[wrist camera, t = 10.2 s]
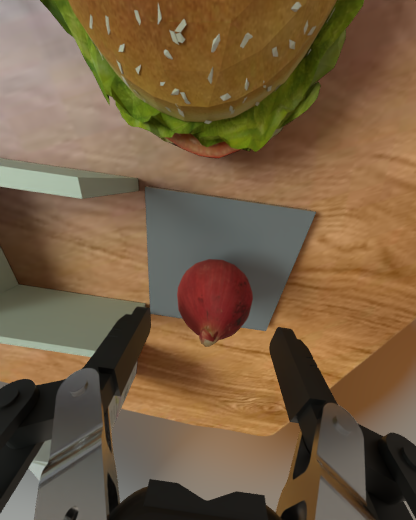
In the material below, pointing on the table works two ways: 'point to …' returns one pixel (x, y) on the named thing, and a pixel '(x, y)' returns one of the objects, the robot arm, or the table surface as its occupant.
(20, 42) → the table surface
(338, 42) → the food
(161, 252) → the tile
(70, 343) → the cubby
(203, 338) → the onion
